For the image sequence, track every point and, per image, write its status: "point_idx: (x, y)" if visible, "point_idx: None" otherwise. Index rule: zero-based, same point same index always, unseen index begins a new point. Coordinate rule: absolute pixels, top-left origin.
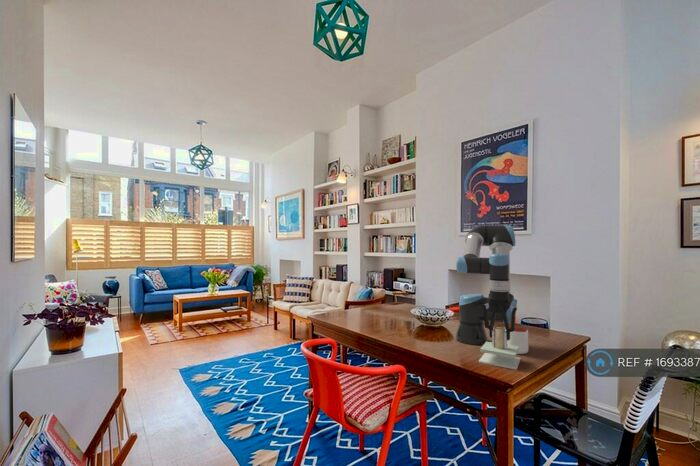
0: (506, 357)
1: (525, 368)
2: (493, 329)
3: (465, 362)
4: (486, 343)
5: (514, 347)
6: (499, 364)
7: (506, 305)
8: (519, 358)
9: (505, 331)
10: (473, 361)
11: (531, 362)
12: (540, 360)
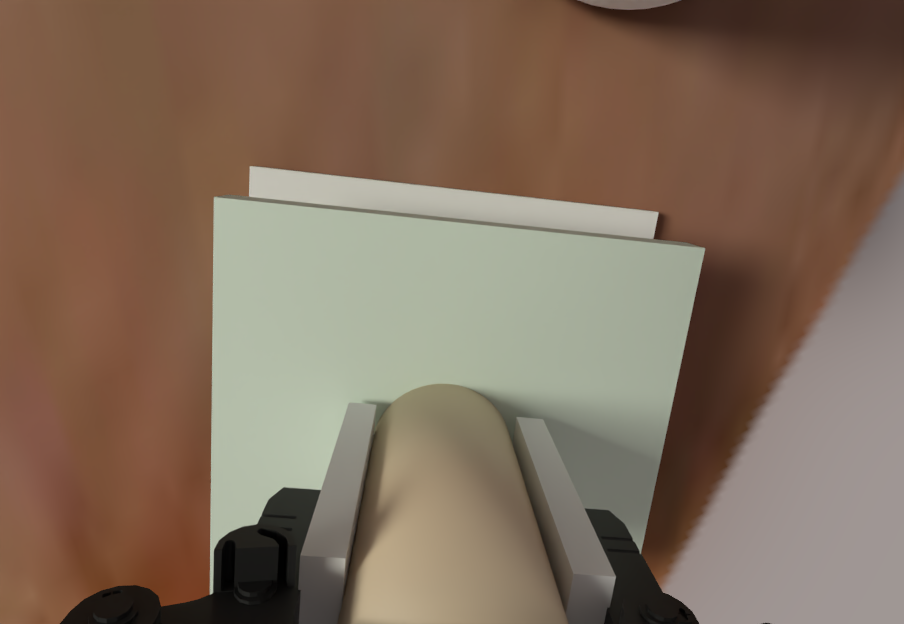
0: None
1: (668, 472)
2: (305, 562)
3: (130, 582)
4: (238, 323)
5: (637, 331)
6: None
7: None
8: (644, 236)
9: (578, 608)
10: (192, 519)
11: (753, 257)
12: (866, 129)
